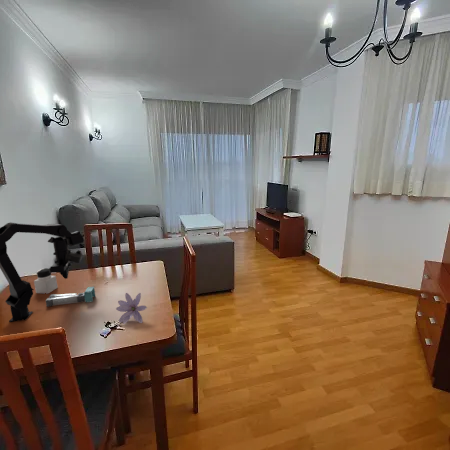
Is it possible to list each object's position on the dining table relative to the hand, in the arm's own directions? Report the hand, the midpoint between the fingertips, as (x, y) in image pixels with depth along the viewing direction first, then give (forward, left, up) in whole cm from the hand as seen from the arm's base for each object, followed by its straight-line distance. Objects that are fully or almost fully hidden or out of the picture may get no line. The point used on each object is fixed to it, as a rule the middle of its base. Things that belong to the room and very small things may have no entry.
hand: (66, 278), depth 130 cm
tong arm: (-5, +1, -10) cm, 11 cm away
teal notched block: (-7, -12, -9) cm, 17 cm away
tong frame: (-7, -1, -10) cm, 12 cm away
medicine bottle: (+10, +14, -10) cm, 20 cm away
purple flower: (-29, -34, -10) cm, 46 cm away
